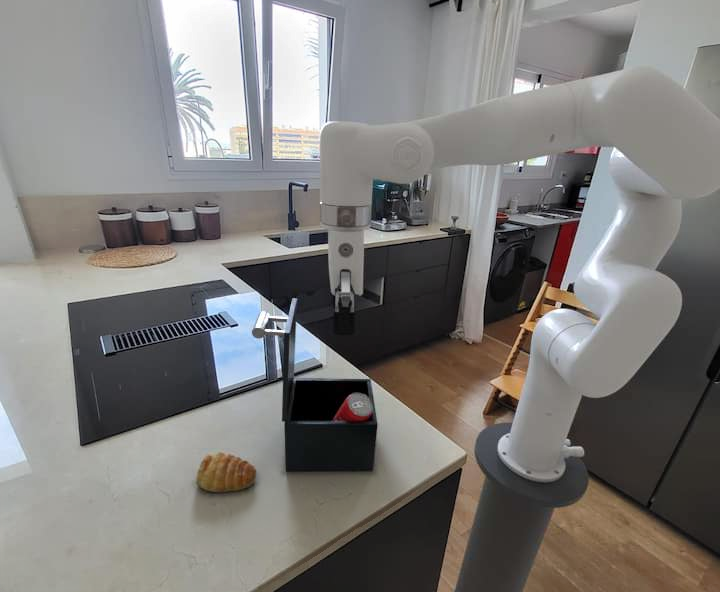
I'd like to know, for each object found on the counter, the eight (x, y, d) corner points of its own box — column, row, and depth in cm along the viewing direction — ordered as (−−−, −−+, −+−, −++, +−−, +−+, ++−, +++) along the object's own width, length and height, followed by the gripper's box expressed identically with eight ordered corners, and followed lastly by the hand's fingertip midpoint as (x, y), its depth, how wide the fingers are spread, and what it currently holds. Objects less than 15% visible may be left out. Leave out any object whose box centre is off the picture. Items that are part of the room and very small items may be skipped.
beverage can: (354, 446, 75) (379, 413, 68) (330, 453, 72) (354, 420, 65) (342, 423, 78) (365, 388, 70) (320, 429, 75) (341, 394, 67)
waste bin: (367, 421, 83) (370, 378, 78) (373, 471, 71) (377, 424, 66) (292, 421, 82) (291, 377, 77) (285, 472, 69) (284, 423, 65)
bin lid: (297, 298, 70) (261, 295, 69) (289, 333, 58) (246, 330, 57) (294, 376, 77) (261, 374, 76) (286, 421, 65) (248, 420, 64)
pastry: (261, 466, 70) (260, 450, 68) (249, 498, 64) (247, 481, 62) (209, 461, 70) (207, 445, 69) (192, 492, 64) (189, 476, 63)
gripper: (376, 229, 50) (369, 346, 57) (366, 206, 66) (361, 301, 73) (318, 227, 49) (318, 345, 57) (321, 205, 65) (321, 300, 72)
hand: (342, 320), depth 65 cm, fingers open, 9 cm apart
